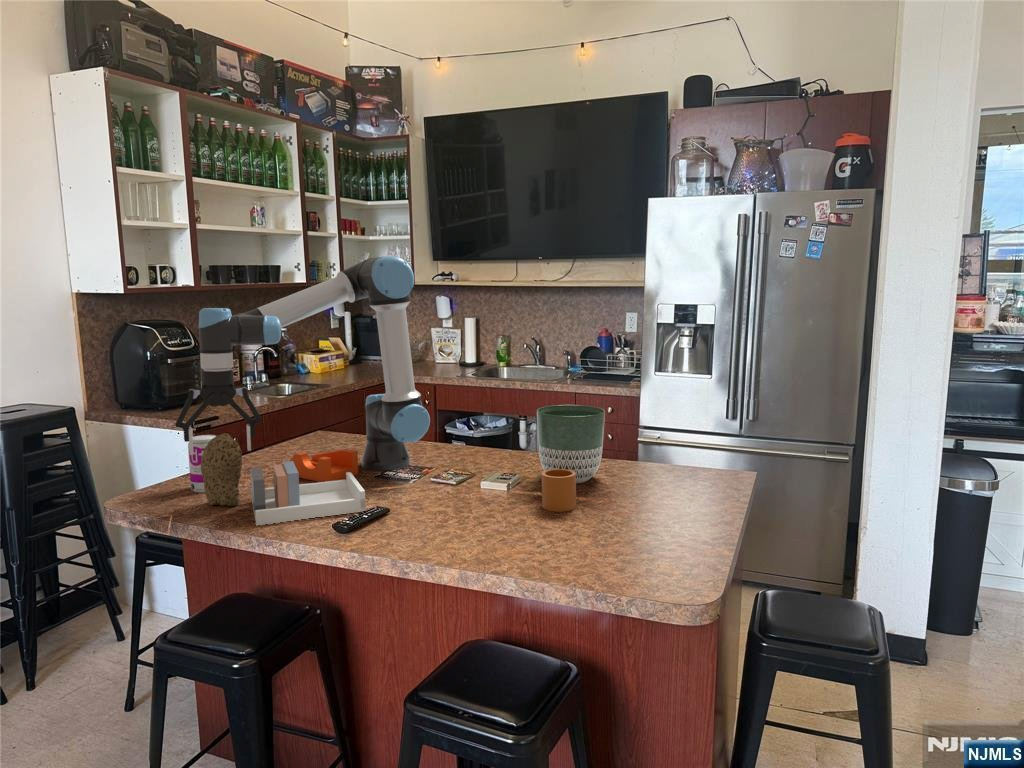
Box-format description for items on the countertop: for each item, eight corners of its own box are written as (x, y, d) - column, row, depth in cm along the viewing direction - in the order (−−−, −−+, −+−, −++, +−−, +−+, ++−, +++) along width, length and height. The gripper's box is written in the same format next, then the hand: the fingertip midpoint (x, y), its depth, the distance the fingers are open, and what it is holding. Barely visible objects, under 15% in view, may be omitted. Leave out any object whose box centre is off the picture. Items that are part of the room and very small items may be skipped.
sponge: (195, 506, 179) (191, 431, 176) (222, 499, 186) (217, 426, 183) (229, 515, 172) (224, 436, 170) (254, 506, 179) (250, 431, 176)
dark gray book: (262, 498, 180) (260, 466, 179) (266, 513, 168) (264, 479, 167) (252, 499, 179) (250, 467, 178) (255, 515, 167) (253, 480, 166)
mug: (585, 501, 183) (585, 468, 182) (568, 514, 173) (569, 479, 171) (553, 496, 187) (554, 464, 186) (535, 509, 177) (536, 475, 175)
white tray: (351, 491, 193) (350, 472, 192) (365, 512, 174) (364, 490, 174) (251, 502, 182) (250, 482, 182) (256, 525, 164) (255, 503, 163)
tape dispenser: (358, 477, 208) (357, 450, 207) (325, 487, 198) (324, 459, 196) (318, 469, 218) (316, 443, 217) (284, 478, 207) (283, 451, 206)
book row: (294, 497, 183) (292, 461, 182) (300, 512, 171) (298, 472, 170) (274, 500, 181) (272, 462, 180) (279, 514, 169) (277, 474, 168)
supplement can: (211, 494, 190) (207, 441, 188) (184, 492, 191) (181, 439, 189) (228, 486, 198) (225, 435, 196) (203, 484, 199) (199, 433, 197)
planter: (526, 488, 195) (527, 413, 192) (549, 471, 213) (549, 403, 210) (593, 495, 188) (594, 418, 185) (611, 477, 206) (612, 407, 203)
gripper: (268, 366, 182) (271, 445, 185) (163, 369, 173) (167, 452, 175) (270, 369, 176) (273, 451, 178) (160, 372, 166) (165, 459, 168)
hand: (220, 451), depth 177 cm, fingers open, 13 cm apart
